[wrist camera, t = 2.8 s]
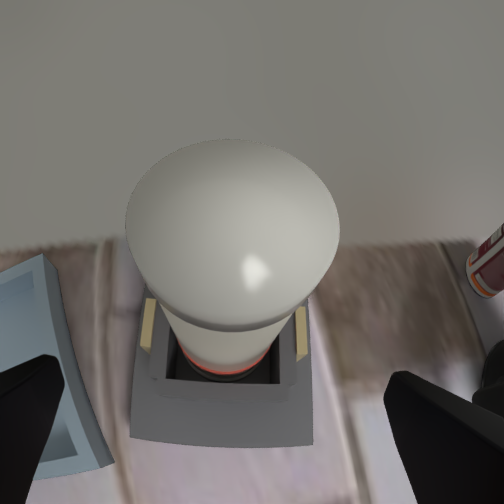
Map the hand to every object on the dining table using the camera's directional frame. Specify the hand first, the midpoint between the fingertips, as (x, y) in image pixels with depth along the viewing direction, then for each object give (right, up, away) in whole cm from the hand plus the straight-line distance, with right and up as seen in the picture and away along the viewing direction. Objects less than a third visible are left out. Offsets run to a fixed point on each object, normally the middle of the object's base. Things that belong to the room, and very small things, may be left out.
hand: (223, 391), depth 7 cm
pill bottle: (+22, +1, +16) cm, 27 cm away
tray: (-16, -6, +8) cm, 18 cm away
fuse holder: (-1, -2, +11) cm, 11 cm away
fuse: (-1, -2, +10) cm, 10 cm away
